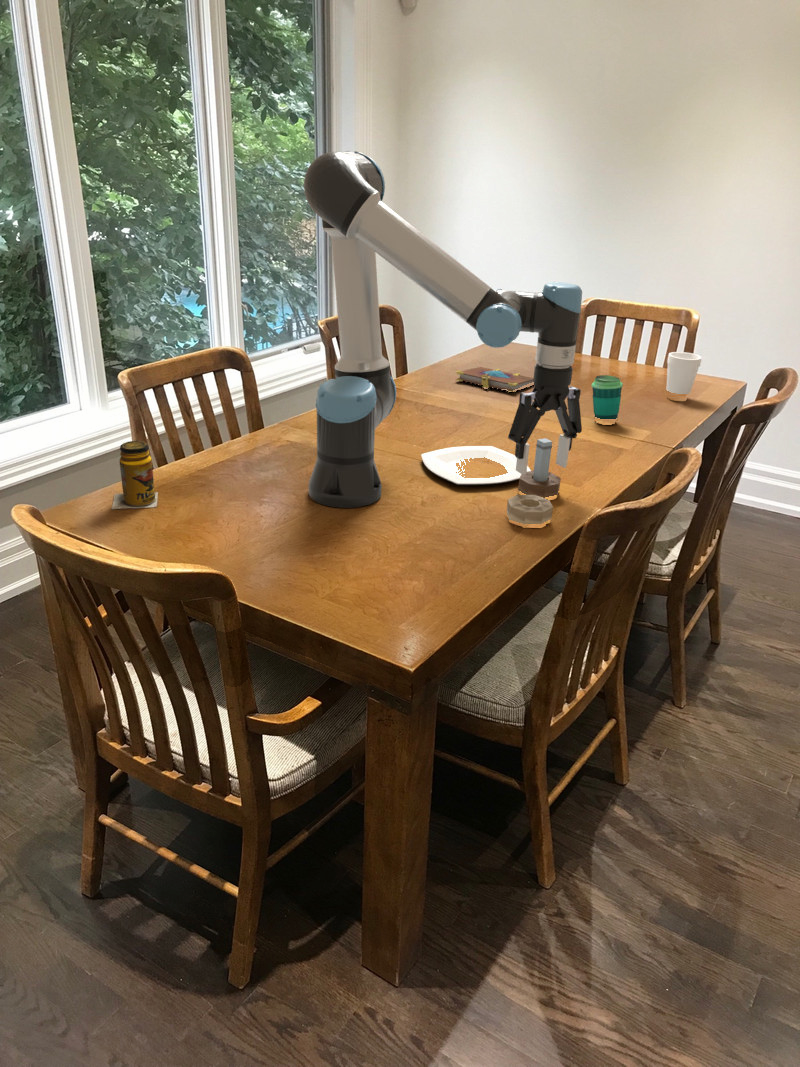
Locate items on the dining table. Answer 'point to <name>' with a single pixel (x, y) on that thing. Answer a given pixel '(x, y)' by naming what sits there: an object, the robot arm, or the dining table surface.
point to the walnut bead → (539, 485)
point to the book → (494, 378)
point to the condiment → (136, 477)
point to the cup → (606, 396)
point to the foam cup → (682, 371)
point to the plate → (447, 458)
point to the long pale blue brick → (542, 460)
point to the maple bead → (529, 509)
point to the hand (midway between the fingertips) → (541, 468)
